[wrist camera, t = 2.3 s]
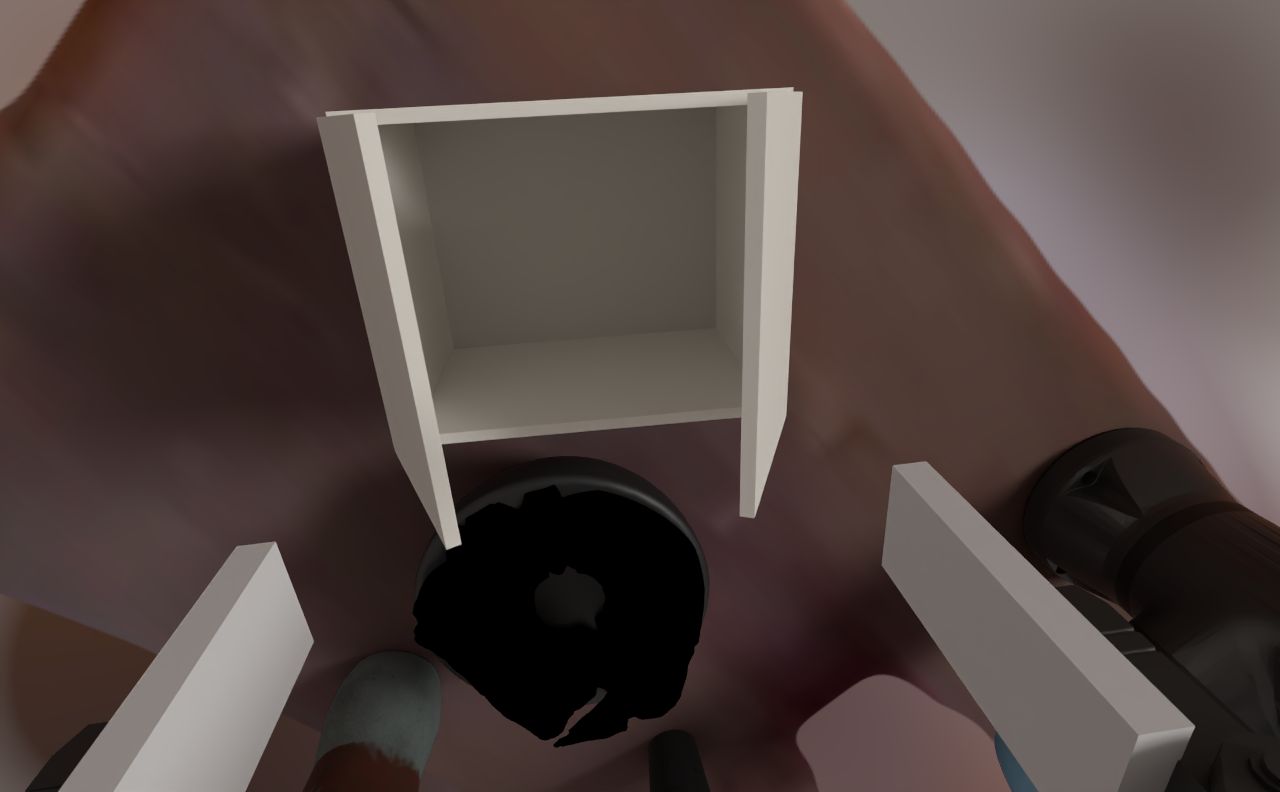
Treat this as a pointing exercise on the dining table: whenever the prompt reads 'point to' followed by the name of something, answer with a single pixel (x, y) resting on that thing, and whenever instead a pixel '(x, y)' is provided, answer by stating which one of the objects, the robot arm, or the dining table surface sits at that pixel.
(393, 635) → the dining table surface
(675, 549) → the bowl of black rocks
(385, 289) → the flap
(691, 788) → the drinking cup
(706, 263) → the carton
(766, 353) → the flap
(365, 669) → the bottle
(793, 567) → the dining table surface
